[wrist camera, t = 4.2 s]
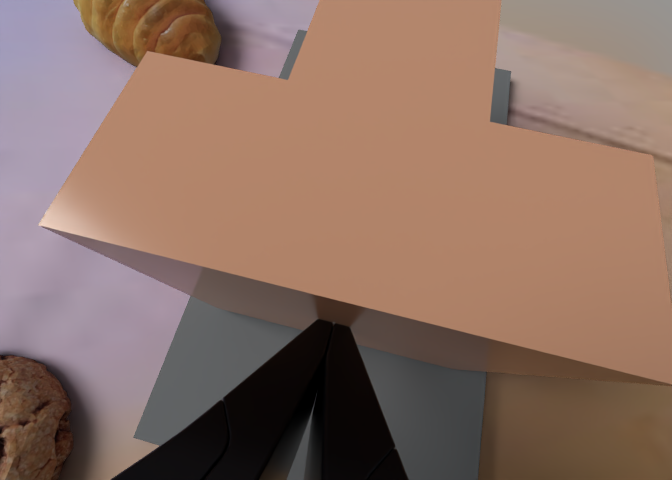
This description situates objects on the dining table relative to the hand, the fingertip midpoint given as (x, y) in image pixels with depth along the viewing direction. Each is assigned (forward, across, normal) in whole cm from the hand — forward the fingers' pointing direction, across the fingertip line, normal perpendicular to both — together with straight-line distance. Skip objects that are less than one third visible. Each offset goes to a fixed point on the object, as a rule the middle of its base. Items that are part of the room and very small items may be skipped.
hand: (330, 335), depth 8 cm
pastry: (+16, +15, -7) cm, 23 cm away
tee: (+8, 0, -1) cm, 8 cm away
